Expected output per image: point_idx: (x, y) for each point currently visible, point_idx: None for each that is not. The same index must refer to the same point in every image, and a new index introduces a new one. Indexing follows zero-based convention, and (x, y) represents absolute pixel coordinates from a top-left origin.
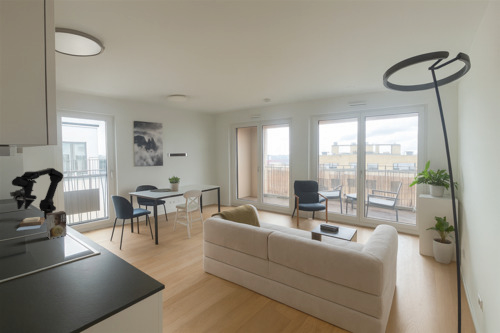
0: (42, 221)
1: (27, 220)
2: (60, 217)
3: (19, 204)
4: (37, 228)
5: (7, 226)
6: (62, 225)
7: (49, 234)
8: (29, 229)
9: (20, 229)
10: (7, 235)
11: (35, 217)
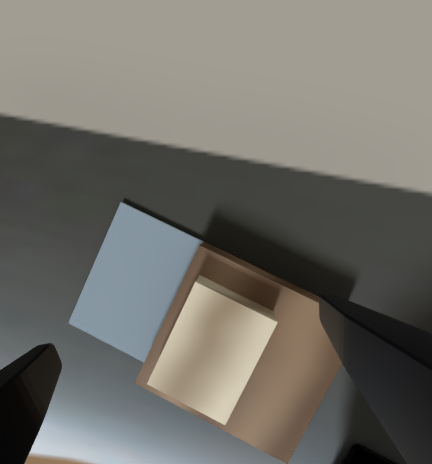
0: None
1: (183, 307)
2: None
3: (410, 395)
4: (73, 314)
5: (326, 193)
6: None
7: None
8: (91, 272)
9: (125, 228)
10: (49, 138)
11: (234, 392)
